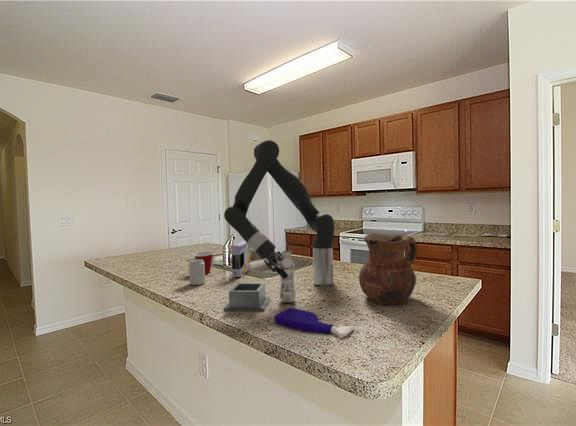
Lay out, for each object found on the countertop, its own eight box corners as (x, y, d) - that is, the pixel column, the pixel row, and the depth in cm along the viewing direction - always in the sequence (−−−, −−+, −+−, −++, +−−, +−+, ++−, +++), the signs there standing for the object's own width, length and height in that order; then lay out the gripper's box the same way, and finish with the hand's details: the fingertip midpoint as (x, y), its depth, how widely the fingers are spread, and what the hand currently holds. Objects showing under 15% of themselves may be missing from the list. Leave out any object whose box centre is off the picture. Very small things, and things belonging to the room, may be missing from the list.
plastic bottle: (298, 299, 121) (296, 250, 121) (292, 305, 115) (291, 253, 114) (283, 298, 124) (281, 249, 123) (277, 304, 117) (275, 252, 116)
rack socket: (270, 299, 123) (269, 282, 122) (263, 311, 110) (263, 292, 109) (234, 299, 124) (233, 282, 124) (224, 310, 112) (223, 292, 111)
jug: (386, 312, 105) (385, 241, 104) (347, 296, 124) (346, 235, 123) (429, 301, 116) (428, 236, 114) (387, 287, 134) (386, 231, 133)
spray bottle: (271, 316, 98) (340, 334, 84) (290, 305, 107) (356, 321, 93) (271, 325, 99) (341, 345, 84) (290, 314, 107) (356, 330, 93)
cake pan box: (239, 278, 158) (238, 245, 157) (230, 278, 159) (229, 245, 158) (251, 270, 176) (250, 240, 176) (243, 270, 177) (242, 240, 177)
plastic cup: (190, 274, 169) (189, 253, 169) (204, 270, 179) (203, 250, 178) (204, 276, 164) (203, 254, 163) (218, 272, 173) (217, 251, 172)
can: (208, 282, 152) (207, 258, 151) (198, 286, 145) (197, 261, 144) (196, 281, 155) (195, 258, 154) (186, 285, 148) (185, 261, 147)
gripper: (260, 241, 114) (290, 272, 111) (273, 236, 127) (300, 264, 124) (248, 254, 115) (277, 286, 113) (262, 248, 129) (288, 276, 126)
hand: (289, 274), depth 119 cm, fingers open, 8 cm apart
